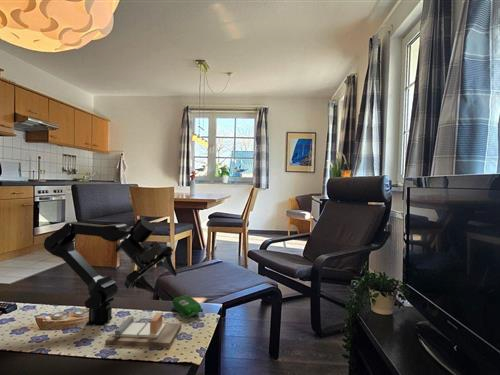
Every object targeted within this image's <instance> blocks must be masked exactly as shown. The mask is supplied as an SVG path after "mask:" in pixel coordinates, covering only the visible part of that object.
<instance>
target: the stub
mask: <svg viewBox="0 0 500 375" xmlns="http://www.w3.org/2000/svg"><path fill="white" fill-rule="evenodd" d="M163 314H164V313H163V312H156V313H155V314H154V316H153V317H152V318H151V319H150V321H149V322H150V323H148V324H147V325H146V326H145V327H144V329H143V330H142V331H141V332H140V333H139V337H149V338H158V336H159V335H160V333H161V332H162V331H163V329H164V328H165V326H166V324H162V323H163Z"/></svg>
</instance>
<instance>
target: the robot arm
mask: <svg viewBox="0 0 500 375" xmlns="http://www.w3.org/2000/svg"><path fill="white" fill-rule="evenodd" d="M155 231H156V227H155V225H154V224H153V223H152V222H150V221H148V220H146V219H144V218H143V217H140V218H139V217H138V219H137V220H136V222H135V224H133V226H128V224H126V223H115V224H113V223H112V224H106V225H105V224H94V223H88V222H87V223H85V222H79V221H72V222H70V221H69V222H67V223H65V224H64V225H63V226H62V227H61V228H59V229H58V230H55V231H54V232H53V233H51V234H50V235H48V236H47V237H46V238H45V239H44V242H43V248H44V249H45V251H47V252H48V253H49V254H51V255H52V256H56V257H58V258H61V259H62V260H63V261H64V262H65V263H66V265H68V266H69V267H70V268H71V270H72V271H73V272H74V273H75V274H76V275H77V277H79V279H81V280H82V282H83V283H84V284H86V286H87V289H88V290H87V291H88V295H89V297H88V298H87V299H86V300H85V301H84V306H85V308H86V309H88V321H87V322H86V323H85V325H86V326H99V327H100V326H103V327H104V326H105V325H106V324H107V323H109V322H110V321H111V320H112V319H113V316H112V315H113V314H112V310H113V308H112V307H111V302H113V301H114V299H115V298H116V296H117V295H118V289H119V287H118V285H117V284H116V283H117V281H115V280H113V278H112V277H111V276H110V275H109V274H108V275H106V276H101V275H100V274H99V273H98V272H97V271H96V270H95V269H94V268H93V267H92V266H91V265H90V264H89V262H88V261H86V259H85V258H84V257H83V256H82V255H81V254H80V253H79V252H78V251H77V250H76V248H75V242H74V240H75V239H76V238H77V235H80V236H81V235H82V236H83V235H84V236H90V237H91V236H92V237H99V238H101V239H103V240H104V241H107V242H111V243H115V242H119V241H121V242H120V243H116V244H115V253H119V252H122V251H123V253H124V254H125V255H126V256H127V258H129V259H130V260H131V261H130V263H131V264H135V266H136V267H137V268H138V270H135V269H134V270H133V271H131V272H130V273H129V274H128V275H127V276H126V277H125V278H124V279H125V280H124V282H123V285H124V286H125V288H126V289H127V290H130V289H131V288H132V289H134V290H135V289H136V288H137V289H142V290H144V291H147V292H149V293H152V294H153V295H156V294H157V293H158V292H157V291H156V289H155V288H154V287H153V286H152V285H151V284H150V283H149V282H148V281H147V280H146V279H145V277H144V276H143V275H145V274H146V272H148V271H150V270H151V269H152V268H153V267H155V266H157V264H158V263H160V262H162V264H161V265H162V266H163V267H164V268H165V269H166V270H167V271H168V272H170V274H171V275H173V276H174V277H177V275H178V273H177V272H176V271H177V270H175V267H174V265H173V262H172V255H173V252H174V249H173V248H172V247H171V246H169V245H167V246H165V247H163V248H162V246H161V244H160V243H159V242H158V241H156V240H155V241H153V242H152V243H150V244H149V246H150V247H149V248H148V247H147V246H146V245H145V246H143V245H142V243H145V242H146V241H147V240H148V239H149V238H150V236H152V235H153V233H154V232H155ZM159 250H160V251H159Z"/></svg>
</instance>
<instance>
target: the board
mask: <svg viewBox="0 0 500 375" xmlns="http://www.w3.org/2000/svg"><path fill="white" fill-rule="evenodd" d="M125 321H126V320H124V321H123V322H125ZM132 323H147V324H148V323H150V321H133V322H132ZM162 324H166V326H165V328H164V329H163V331H162V332H161V333H160V335H159V336H158V338H149V337H139V336H138V337H120V336H113V333H114V332H115V330H114V331H113V332H112V333H111V334H110V335H109V336H108V337H107V338H105V339H104V340H105V341H104V342H105V343H104V344H105V346H121V347H138V348H139V347H140V348H141V347H144V348H160V347H165V348H164V349H166V348H167V349H171V347H170V346H172V345H173V343H174V341H175V340H176V338H175V337H177V336H178V335H179V332H180V331H181V329H182V323H176V322H175V323H173V322H172V323H171V322H162ZM174 339H175V340H174ZM168 347H169V348H168Z"/></svg>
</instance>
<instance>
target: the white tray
mask: <svg viewBox="0 0 500 375" xmlns="http://www.w3.org/2000/svg"><path fill="white" fill-rule="evenodd" d="M134 319H135V317H134V316H129V317H128V318H126V319H125V320H124V321H125V322H124V321H123V322H122V323H121V324H120V325H119V326H118V327H117V328H116V329H115V330H114V331H115V332H114V331H113V332H114V333H113V332H112V333H113V336H120V337H138V336H139V333H140V332H141V331H142V330H143V329H144V327H145V326H146V325H147V323H132V322H135V321H134Z"/></svg>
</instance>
